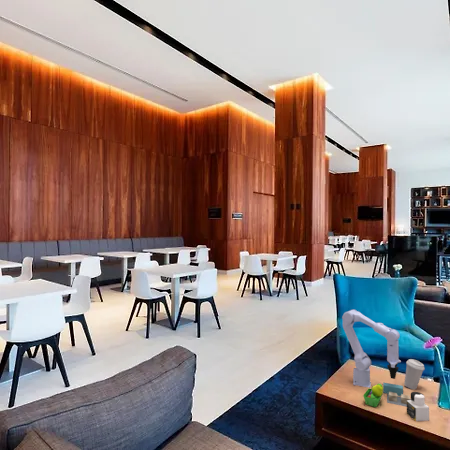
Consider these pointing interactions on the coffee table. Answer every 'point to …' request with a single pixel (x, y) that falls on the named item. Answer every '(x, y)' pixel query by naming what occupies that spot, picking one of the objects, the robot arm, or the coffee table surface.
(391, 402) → the build plate
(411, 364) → the coffee cup
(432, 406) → the coffee table surface
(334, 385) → the coffee table surface
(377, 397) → the fruit basket
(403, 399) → the pillar far
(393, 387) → the lintel
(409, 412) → the medicine bottle
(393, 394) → the pillar near arm
